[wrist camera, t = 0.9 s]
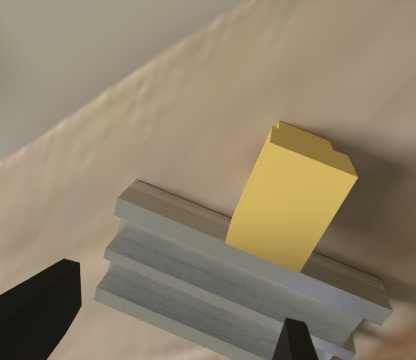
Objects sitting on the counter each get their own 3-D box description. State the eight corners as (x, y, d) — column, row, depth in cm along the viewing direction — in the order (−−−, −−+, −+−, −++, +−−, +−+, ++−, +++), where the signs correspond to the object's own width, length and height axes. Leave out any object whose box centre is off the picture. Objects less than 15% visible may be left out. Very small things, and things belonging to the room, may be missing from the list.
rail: (381, 279, 20) (392, 310, 18) (316, 362, 24) (319, 396, 22) (135, 179, 21) (117, 197, 19) (111, 275, 25) (93, 299, 22)
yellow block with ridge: (340, 138, 17) (357, 177, 13) (296, 217, 20) (298, 273, 15) (274, 112, 17) (270, 142, 13) (238, 194, 20) (224, 243, 15)
